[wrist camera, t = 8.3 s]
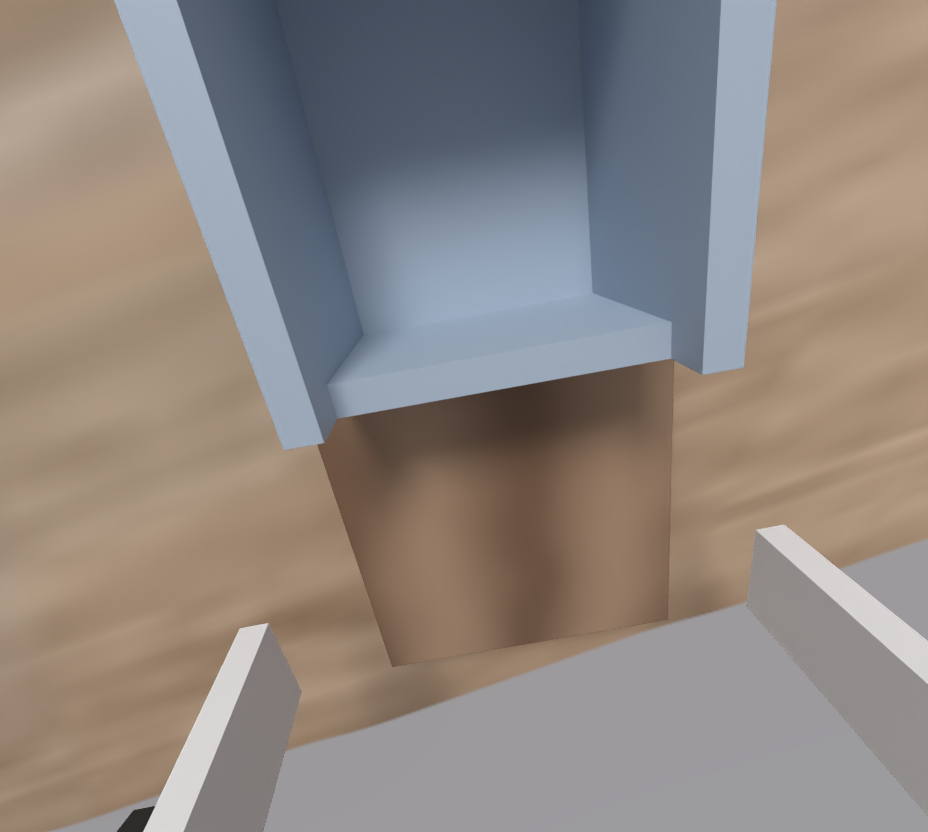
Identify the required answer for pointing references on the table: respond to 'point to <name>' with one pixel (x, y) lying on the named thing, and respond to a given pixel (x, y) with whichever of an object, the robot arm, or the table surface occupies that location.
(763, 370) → the table surface
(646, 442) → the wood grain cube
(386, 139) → the slide box
